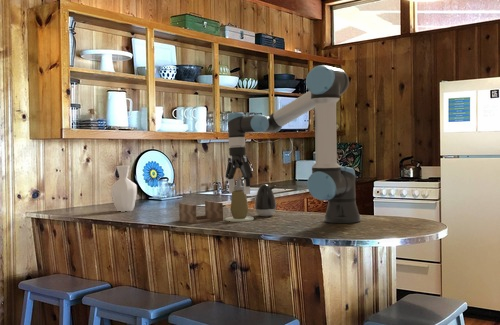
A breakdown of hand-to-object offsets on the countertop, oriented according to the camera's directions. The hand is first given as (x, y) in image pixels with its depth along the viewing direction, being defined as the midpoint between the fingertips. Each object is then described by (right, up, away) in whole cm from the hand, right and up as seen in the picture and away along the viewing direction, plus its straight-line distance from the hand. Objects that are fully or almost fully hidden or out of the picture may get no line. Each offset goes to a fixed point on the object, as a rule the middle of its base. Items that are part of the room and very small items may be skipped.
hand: (239, 193), depth 252 cm
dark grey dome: (+12, -12, +13) cm, 21 cm away
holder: (-18, -13, +3) cm, 22 cm away
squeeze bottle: (0, -11, 0) cm, 11 cm away
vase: (-64, -13, +54) cm, 85 cm away
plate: (0, -12, +1) cm, 12 cm away
